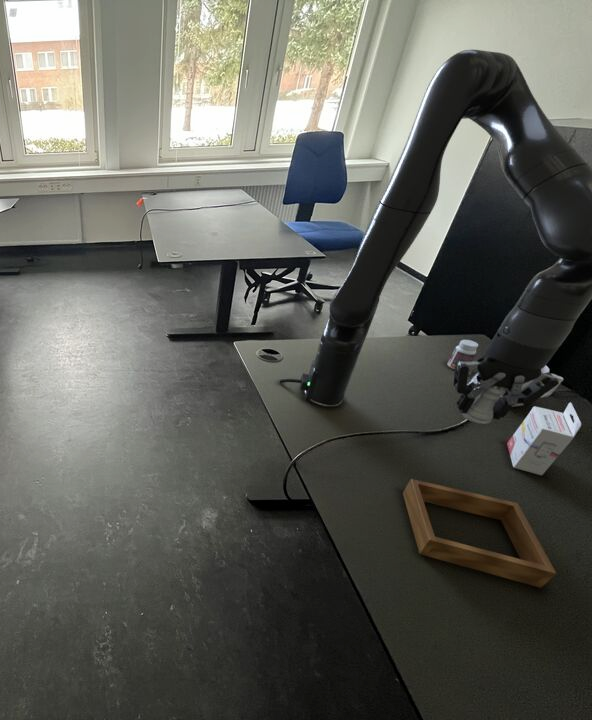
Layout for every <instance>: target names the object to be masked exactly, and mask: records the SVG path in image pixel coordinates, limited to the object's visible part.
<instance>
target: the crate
mask: <svg viewBox="0 0 592 720" xmlns="http://www.w3.org/2000/svg"><path fill="white" fill-rule="evenodd" d="M402 495H403V499H404V503H405V506H406V510H407V513H408V518H409V520H410V525H411V528H412V531H413V537H414V539H415V542H416V547H417V549H418V553H419V555H422V556H425V557H429V558H432V559H436V560H438V561H443V562H446V563H450V564H454V565H458V566H461V567H465V568H469V569H472V570H475V571H479V572H483V573H486V574H489V575H494V576H496V577H501V578H504V579H507V580H511V581H515V582H517V583H521V584H526V585H528V586H531V587H532V586H533V587H536V588H539V589H541V588H542V587H543V586H545V585H546V584H548V582H549V581H551V579H552V578H553V577H555V576H556V575H557V572H556V570H555V568H554V566H553V565H552V563H551V561H550V559H549V556H547V554H546V552H545V550H544V548H543V546H542V544H541V542H540V541H539V539H538V536H536V534H535V532H534V530H533V528H532V527H531V524H530V523H529V521H528V519H527V518H526V516H525V513H524V511H523V510H522V509H521V506H520V505H519V503H518V502H515V501H510V500H506V499H501V498H498V497H494V496H493V497H492V496H488V495H484V494H480V493H477V492H476V493H475V492H471V491H466V490H463V489H458V488H453V487H450V486H444V485H440V484H436V483H431V482H427V481H422V480H418V479H413V478H410V480H409V482H408V483H407V485H406V487H405V488H404V490H403V492H402ZM425 503H428V504H432V505H437V506H441V507H444V508H449V509H453V510H457V511H461V512H464V513H469V514H473V515H478V516H481V517H486V518H490V519H494V520H499V521H501V523H502V525H503V527H504V529H505V531H506V533H507V536H508V537H509V539H510V541H511V544H512V545H513V548H514V550H515V552H516V554H517V555H518V558H517V557H514V556H510V555H507V554H502V553H498V552H495V551H490V550H487V549H483V548H480V547H476V546H472V545H467V544H464V543H460V542H457V541H453V540H449V539H446V538H441V537H438V536H435V533H434V530H433V526H432V523H431V521H430V517H429V514H428V511H427V507H426V505H425Z"/></svg>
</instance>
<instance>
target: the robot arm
mask: <svg viewBox="0 0 592 720" xmlns="http://www.w3.org/2000/svg"><path fill="white" fill-rule="evenodd" d="M466 119H467V120H471V121H472V122H474V123H475V124H476V125H478V126H479V127H480V128H482V129H483V130H484V131H485V132H486V133H487V134H488V135H489V136H490V138H491V139H492V140H493V142H494V144H495V146H496V148H497V152H498V157H499V162H500V166H501V168H502V172H503V173H504V176H505V177H506V179H507V181H508V183H509V184H510V185H511V186H512V188H513V189H514V190H515V191H516V193H517V194H518V195H519V197H520V198H521V200H522V201H524V203H525V204H526V205H527V206H528V207H529V208H530V211H531V215H532V220H533V223H534V225H535V228H536V230H537V233H538V236H539V238H540V240H541V242H542V244H543V246H544V247H545V248H546V249H547V250H548V251H549V252H550V253H551V254H552V255H554V256H556V257H557V258H559V259H558V260H557V261H556V262H555V263H554V264H553V265H552V266H550V267H548V268H547V269H544V270H542V271H540V272H538V273H537V274H536V275H534V276H533V277H532V279H531V280H530V281H529V283H528V284H527V286H526V287H525V289H524V290H523V292H522V294H521V295H520V297H519V299H518V300H517V302H516V303H515V304H514V306H513V307H512V308H511V310H510V311H509V312H508V314H507V315H506V316H505V318H504V320H503V321H502V322H501V324H500V327H499V328H498V329H497V331H496V332H495V334H494V336H493V338H492V339H491V341H490V342H489V344H488V346H487V347H486V350H485V352H484V354H483V355H482V356H480V357H479V358H478V359H477V360H475V361H473V360H472V361H471V362H465V361H464V360H462V359H459V360H457V361H456V364H455V369H454V374H453V383H452V384H453V386H454V387H455V389H456V392H457V394H461V395H460V396H459V398H458V399H457V401H456V407H457V409H458V411H459V413H461V414H462V413H467V412H468V410H469V409H470V407H471V405H472V404H473V402H474V401H475V399H476V398H477V397H478V396H479V395H480V393H481V392H482V391H486V390H488V389H489V388H490V387H491V386H501V387H503V388H505V390H506V393H505V394H502V396H503V398H501V397H500V399H498V400H497V402H495V404H494V407H493V414H494V416H493V420H498V421H499V420H500V419H501V418H504V417H506V416H507V415H508V413H509V412H510V410H511V409H512V408H513V407H512V406H513V405H516V404H520V403H523V404H524V405H523V406H529V405H532V404H533V403H534V402H536V401H537V400H539V399H540V397H541V396H543V395H544V394H545V393H547V392H548V391H550V390H551V389H552V388H554V387H555V386H557V385H558V384H559V382H558V381H557V380H558V379H556V378H555V377H554V376H553V375H552V374H553V373H551V372H549V373H548V372H547V373H543V372H542V371H541V369H542V368H544V367H545V366H547V365H548V363H549V361H551V359H552V358H553V356H554V355H555V353H556V352H557V351H558V350H559V348H560V347H561V346H562V344H563V343H564V342H565V340H566V339H567V337H568V336H569V334H571V332H572V330H573V327H574V325H575V323H576V322H577V320H578V319H579V317H580V315H581V314H582V313H583V311H584V310H585V309H586V307H587V306H588V305H589V303H590V302H591V300H592V166H591V165H590V164H589V163H588V162H587V161H586V160H585V159H584V157H583V156H582V155H581V154H580V153H579V152H578V151H577V150H576V149H575V148H574V147H573V146H572V145H571V144H570V143H569V141H568V140H567V139H566V138H565V137H563V135H562V133H560V132H559V130H558V129H557V128H556V127H555V126H554V125H553V123H552V122H551V120H549V118H548V117H547V116H546V113H544V111H543V109H542V108H541V106H540V105H539V103H538V101H537V100H536V98H535V96H534V94H533V93H532V91H531V89H530V87H529V85H528V82H527V81H526V78H525V76H524V74H523V72H522V70H521V68H520V66H519V65H518V63H517V61H516V60H515V59H514V57H512V56H511V55H509V54H507V53H503V52H497V51H490V50H489V51H488V50H481V49H464V50H461V51H459V52H457V53H455V54H453V55H452V56H450V57H449V58H448V59H446V61H445V62H443V63H442V64H441V66H439V68H438V69H437V71H436V72H435V73H434V75H433V76H432V78H431V80H430V81H429V83H428V85H427V88H426V89H425V92H424V95H423V97H422V100H421V102H420V105H419V107H418V110H417V112H416V115H415V118H414V121H413V124H412V125H411V129H410V132H409V135H408V136H407V140H406V142H405V145H404V147H403V149H402V152H401V154H400V156H399V158H398V160H397V163H396V165H395V166H394V169H393V171H392V173H391V176H390V178H389V181H388V183H387V185H386V187H385V189H384V191H383V193H382V194H381V196H380V198H379V200H378V202H377V205H376V206H375V208H374V211H373V213H372V214H371V217H370V219H369V221H368V224H367V226H366V229H365V231H364V234H363V236H362V239H361V242H360V245H359V247H358V250H357V253H356V256H355V259H354V261H353V263H352V266H351V268H350V270H349V272H348V273H347V275H346V277H345V278H344V280H343V282H342V284H341V285H340V287H339V288H338V289H337V291H336V292H335V294H334V295H333V296H332V298H331V299H330V303H329V308H328V309H329V316H328V319H327V321H326V324H325V326H324V328H323V331H322V333H321V337H320V341H319V344H318V348H317V350H316V353H315V354H316V355H315V358H314V360H312V361H311V365H310V367H309V368H310V369H309V372H308V374H307V373H302V374H301V375H300V379H297V378H283V379H279V383H280V384H285V383H294V384H295V383H296V384H299V385H300V387H299V388H300V390H301V391H304V398H305V401H309V402H311V403H313V404H314V405H317V406H319V407H323V408H337V407H339V406H341V405H342V403H343V401H344V398H345V395H346V392H347V388H348V386H349V383H350V380H351V378H352V375H353V373H354V370H355V367H356V364H357V361H358V359H359V357H360V354H361V351H362V347H363V346H364V344H365V341H366V339H367V336H368V333H369V330H370V327H371V325H372V322H373V319H374V317H375V314H376V312H377V309H378V306H379V304H380V299H381V298H380V297H381V295H382V292H383V290H384V288H385V286H386V284H387V282H388V280H389V278H390V276H391V275H392V273H393V272H394V270H395V269H396V267H398V265H399V264H400V262H401V261H402V259H403V258H404V256H405V255H406V254H407V252H408V250H409V249H410V248H411V246H412V245H413V243H414V242H415V240H416V239H417V238H418V235H419V234H420V232H421V231H422V229H423V227H424V225H425V224H426V222H427V221H428V218H429V217H430V215H431V213H432V211H434V208H435V206H436V204H437V201H438V199H439V193H440V184H441V172H442V163H443V158H444V155H445V152H446V150H447V147H448V145H449V142H450V141H451V139H452V137H453V135H454V134H455V131H456V130H457V128H458V126H459V125H460V123H461V121H462V120H466ZM475 369H476V370H477V371H478V372H477V373H475V374H474V375H473V376H472V377H471V380H470V381H469V382H468V378H469V375H471V374H472V373H473V372H474V370H475ZM531 380H533V382H531V383H530V384H529V385H527V386H526V387H525V388H523V389H522V385H523V384H524V383H527V382H529V381H531ZM559 385H560V384H559ZM521 389H522V390H521Z"/></svg>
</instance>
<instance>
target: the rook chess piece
mask: <svg viewBox="0 0 592 720" xmlns="http://www.w3.org/2000/svg"><path fill="white" fill-rule="evenodd" d="M505 393H506V390H505V388H503V387H501V386H491V387H490V388H489V389H488V390H486V391H482V392H481V393H480V394H479V395H477V396H476V397H475V401H474V402H473V404H472V405H471V407H470V409H469V410H468V412H467V413H461V414H462V416H463V418H464V419H466V420H468V421H469V422H471V423H474V424H477V425H488V424H491V423H492V419H493V416H494V414H493V407H494V405H495V403H496V401H497V400H498V399H500V395H501V394H505ZM493 420H494V419H493Z"/></svg>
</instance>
